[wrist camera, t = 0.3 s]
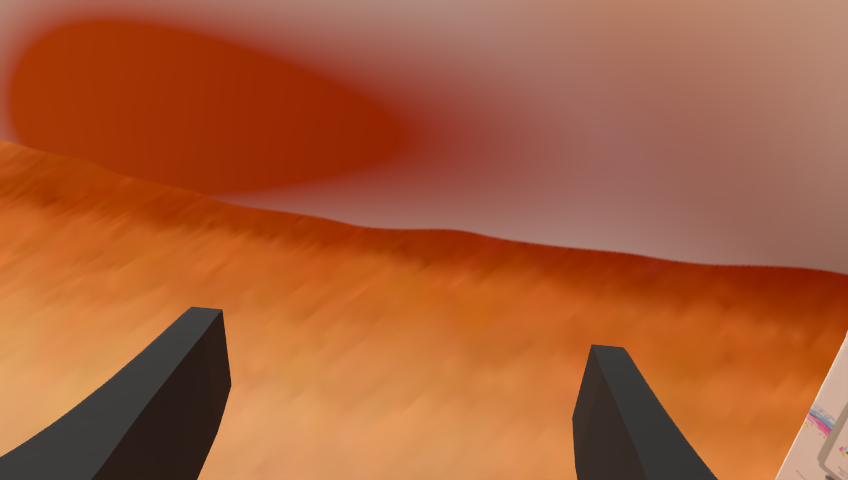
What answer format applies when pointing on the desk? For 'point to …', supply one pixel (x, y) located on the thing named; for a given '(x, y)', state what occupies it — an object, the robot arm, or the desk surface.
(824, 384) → the ink cartridge box
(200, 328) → the robot arm
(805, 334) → the desk surface
